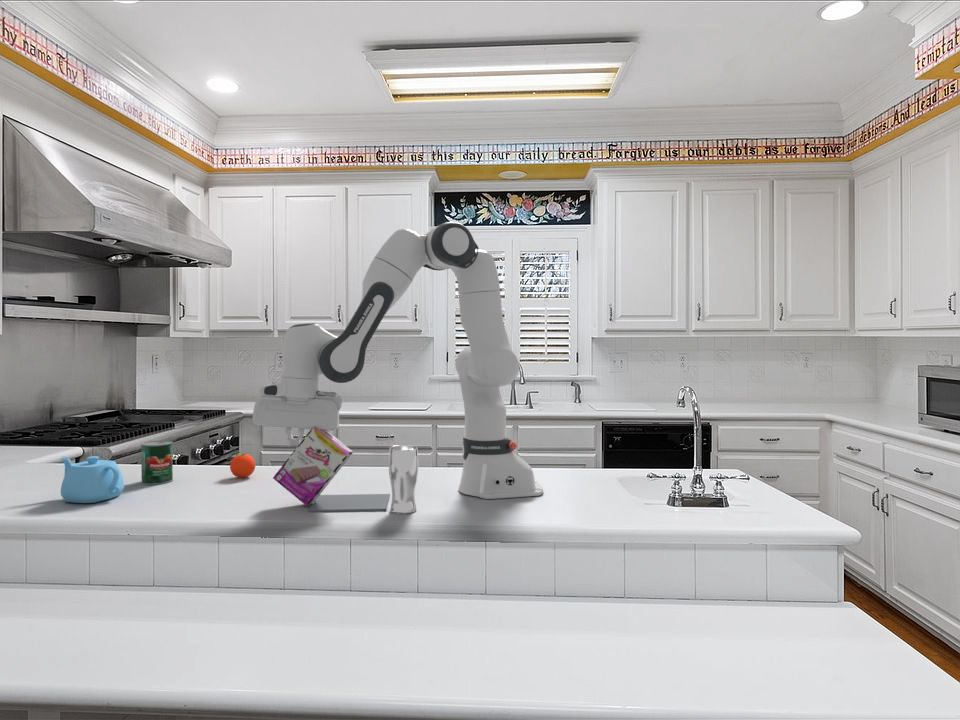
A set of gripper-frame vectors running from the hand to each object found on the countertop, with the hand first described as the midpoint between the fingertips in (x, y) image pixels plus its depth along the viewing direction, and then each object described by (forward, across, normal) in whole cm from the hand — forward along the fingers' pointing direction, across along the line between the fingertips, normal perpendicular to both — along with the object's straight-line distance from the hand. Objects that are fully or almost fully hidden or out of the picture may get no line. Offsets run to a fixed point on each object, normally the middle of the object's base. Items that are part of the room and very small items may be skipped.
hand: (294, 446), depth 154 cm
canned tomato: (+17, +42, -28) cm, 54 cm away
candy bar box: (+11, 0, 0) cm, 11 cm away
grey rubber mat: (+13, -14, -1) cm, 20 cm away
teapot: (+18, +51, -10) cm, 55 cm away
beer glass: (+13, -28, +6) cm, 31 cm away
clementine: (+15, +20, -32) cm, 41 cm away
